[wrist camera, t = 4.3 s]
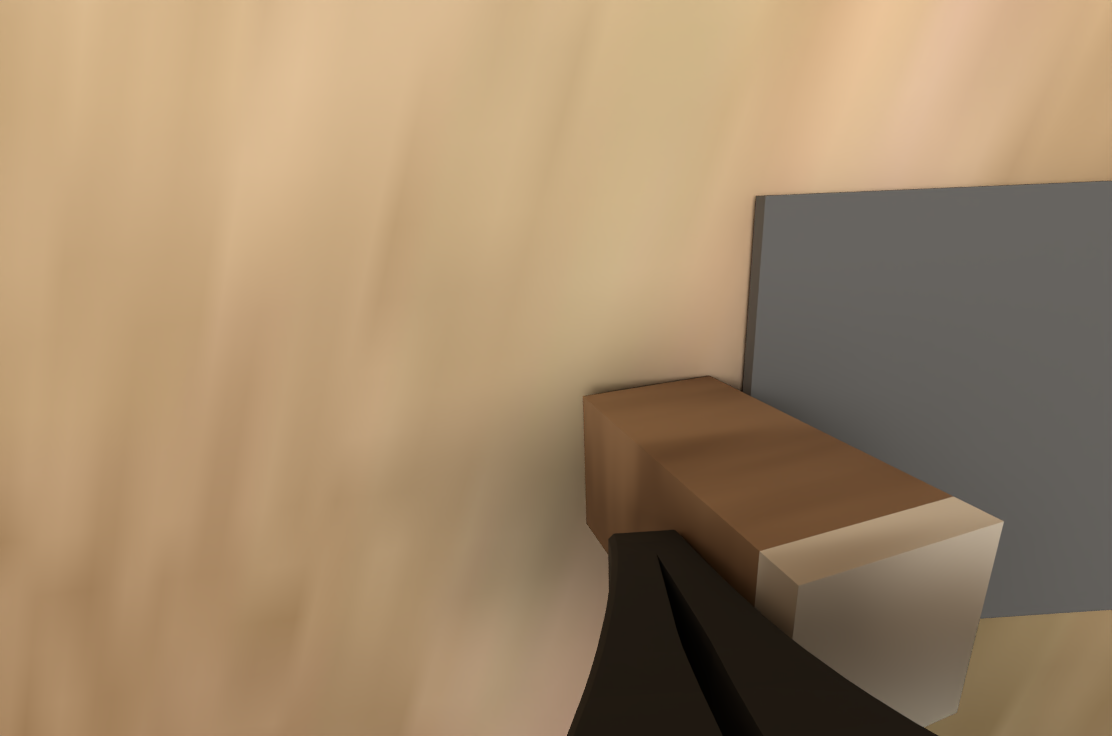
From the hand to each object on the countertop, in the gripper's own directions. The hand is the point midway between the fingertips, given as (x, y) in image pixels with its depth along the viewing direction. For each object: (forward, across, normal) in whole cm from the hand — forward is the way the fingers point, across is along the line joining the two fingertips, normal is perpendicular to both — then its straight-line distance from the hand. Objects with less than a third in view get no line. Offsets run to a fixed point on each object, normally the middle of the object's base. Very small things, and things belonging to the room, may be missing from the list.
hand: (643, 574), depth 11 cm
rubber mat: (+6, -12, 0) cm, 13 cm away
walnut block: (+5, -1, 0) cm, 6 cm away
